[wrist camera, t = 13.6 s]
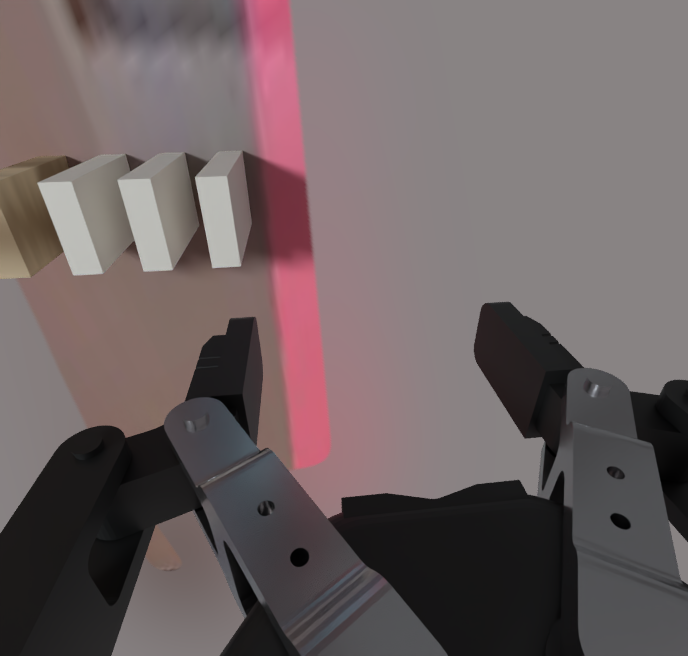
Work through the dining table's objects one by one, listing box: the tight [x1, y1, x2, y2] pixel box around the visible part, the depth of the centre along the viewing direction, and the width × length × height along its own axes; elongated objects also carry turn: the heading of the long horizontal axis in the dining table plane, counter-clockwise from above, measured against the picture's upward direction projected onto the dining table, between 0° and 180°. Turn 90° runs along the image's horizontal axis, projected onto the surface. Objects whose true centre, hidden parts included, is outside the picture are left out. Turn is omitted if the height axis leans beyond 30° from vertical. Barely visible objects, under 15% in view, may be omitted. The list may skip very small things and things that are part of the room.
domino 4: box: [195, 151, 252, 268], centre depth 26 cm, size 5×2×8 cm, turn 0°
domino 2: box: [37, 154, 134, 275], centre depth 25 cm, size 5×2×8 cm, turn 1°
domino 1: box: [0, 156, 69, 279], centre depth 25 cm, size 5×2×8 cm, turn 0°
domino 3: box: [117, 152, 199, 272], centre depth 25 cm, size 5×2×8 cm, turn 0°
